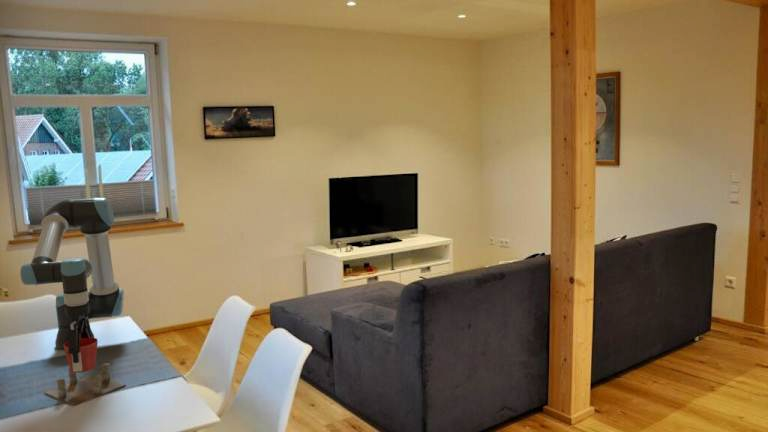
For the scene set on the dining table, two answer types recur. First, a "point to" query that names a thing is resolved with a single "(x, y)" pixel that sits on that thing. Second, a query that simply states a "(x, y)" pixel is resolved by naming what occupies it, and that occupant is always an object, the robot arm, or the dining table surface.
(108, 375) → the plant stand
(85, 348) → the flower pot
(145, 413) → the dining table surface
